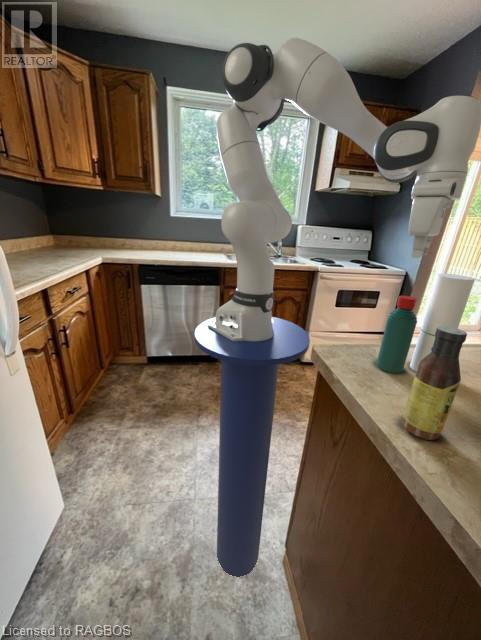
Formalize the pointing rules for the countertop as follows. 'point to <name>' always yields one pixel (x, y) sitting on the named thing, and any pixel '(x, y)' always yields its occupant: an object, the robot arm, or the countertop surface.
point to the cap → (406, 302)
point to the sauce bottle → (435, 385)
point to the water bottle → (396, 340)
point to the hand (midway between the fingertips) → (419, 256)
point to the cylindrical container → (442, 311)
